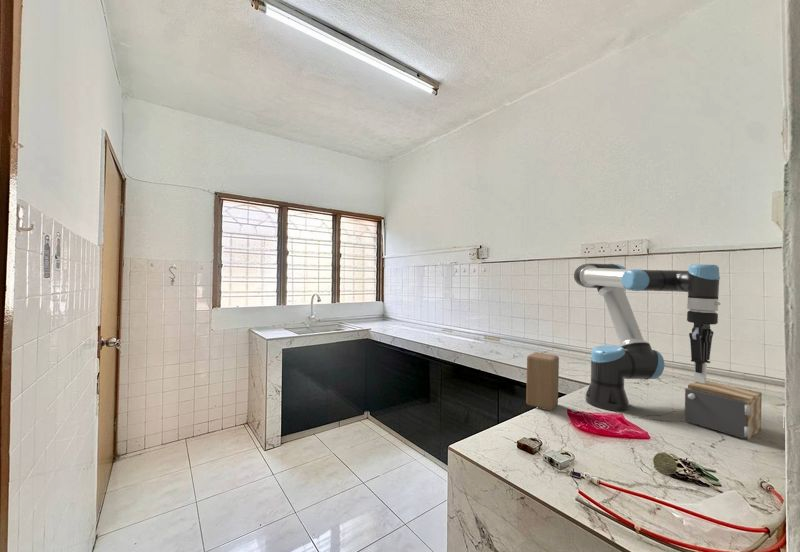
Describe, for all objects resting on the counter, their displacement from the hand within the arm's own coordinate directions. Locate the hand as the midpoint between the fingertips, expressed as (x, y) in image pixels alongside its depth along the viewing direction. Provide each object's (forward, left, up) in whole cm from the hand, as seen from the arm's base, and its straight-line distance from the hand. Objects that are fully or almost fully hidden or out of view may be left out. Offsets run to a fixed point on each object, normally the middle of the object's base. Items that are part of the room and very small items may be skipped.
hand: (699, 381), depth 110 cm
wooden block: (-24, +42, -18) cm, 51 cm away
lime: (-36, -4, -18) cm, 40 cm away
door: (+8, -2, -17) cm, 19 cm away
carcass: (+18, -1, -18) cm, 25 cm away
